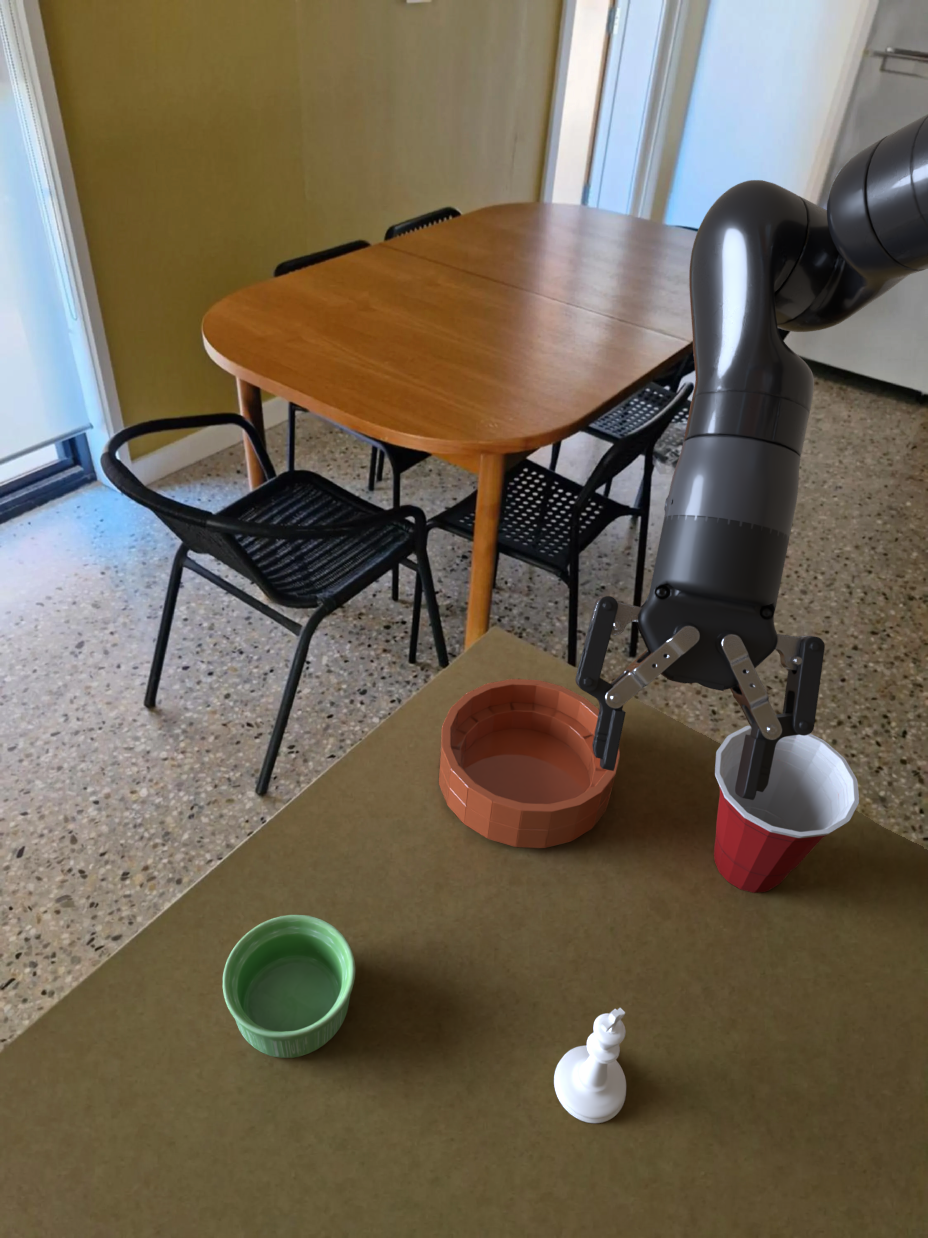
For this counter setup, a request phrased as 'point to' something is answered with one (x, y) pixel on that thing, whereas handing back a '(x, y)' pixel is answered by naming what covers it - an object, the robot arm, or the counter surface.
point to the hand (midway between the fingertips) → (675, 782)
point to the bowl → (524, 763)
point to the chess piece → (594, 1073)
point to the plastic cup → (779, 809)
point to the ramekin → (289, 984)
